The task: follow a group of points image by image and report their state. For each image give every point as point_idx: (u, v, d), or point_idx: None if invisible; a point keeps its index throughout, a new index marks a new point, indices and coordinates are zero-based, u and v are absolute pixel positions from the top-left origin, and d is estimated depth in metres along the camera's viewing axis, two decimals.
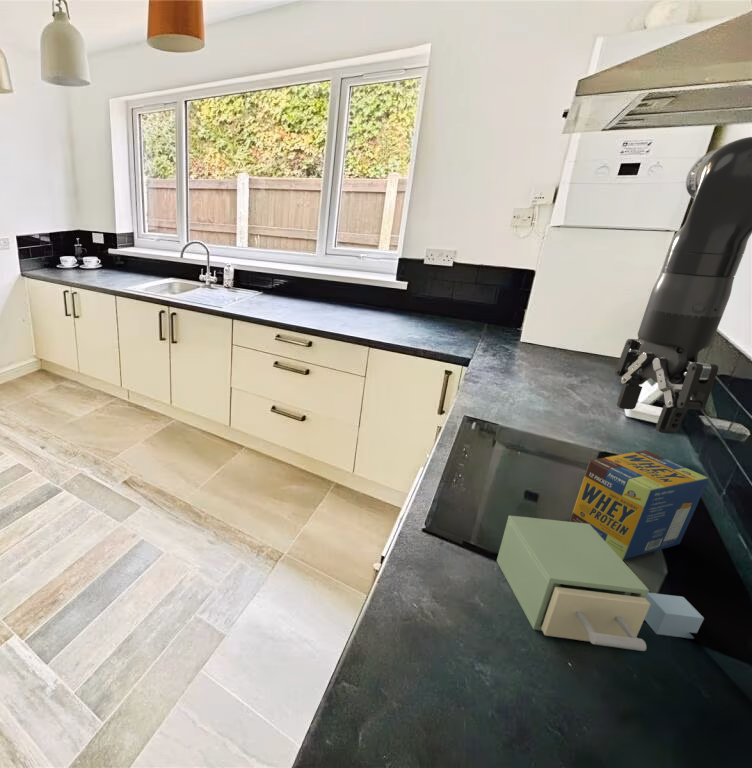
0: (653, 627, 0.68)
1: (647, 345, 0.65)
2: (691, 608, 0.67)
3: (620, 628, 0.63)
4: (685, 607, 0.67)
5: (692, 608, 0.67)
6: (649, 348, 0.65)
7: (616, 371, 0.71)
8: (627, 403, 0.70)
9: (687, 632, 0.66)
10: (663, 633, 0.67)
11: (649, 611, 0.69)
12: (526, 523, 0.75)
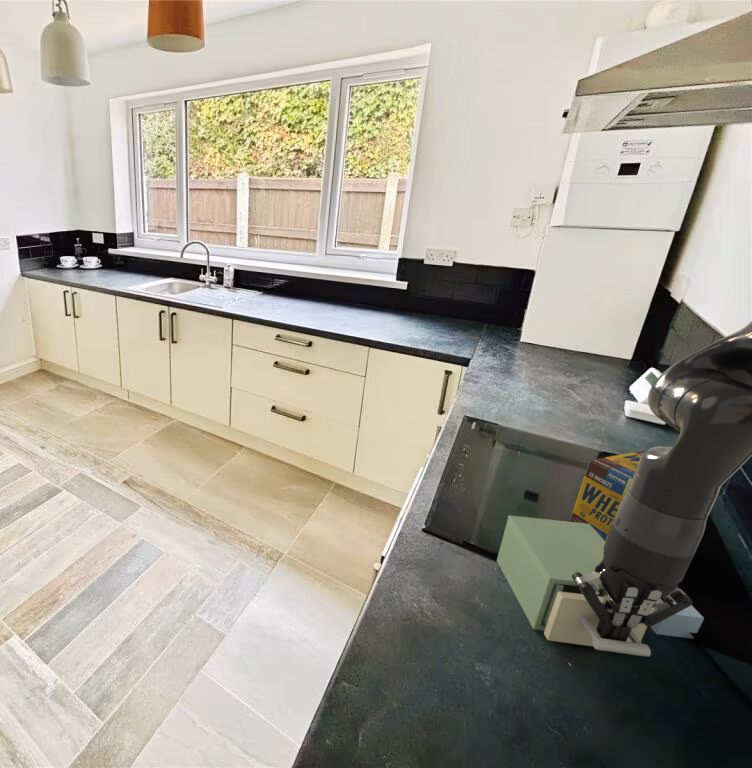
0: (653, 627, 0.68)
1: None
2: (691, 608, 0.67)
3: None
4: None
5: (692, 608, 0.67)
6: None
7: None
8: None
9: (687, 632, 0.66)
10: (663, 633, 0.67)
11: None
12: (526, 523, 0.75)
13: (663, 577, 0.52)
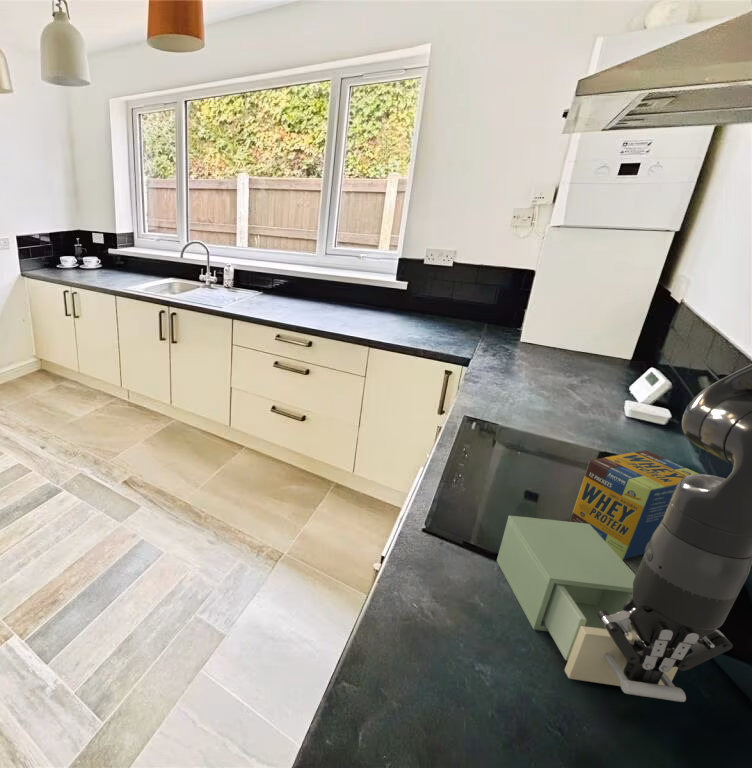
0: None
1: None
2: None
3: None
4: None
5: None
6: None
7: None
8: None
9: None
10: None
11: None
12: (526, 523, 0.75)
13: (703, 621, 0.47)
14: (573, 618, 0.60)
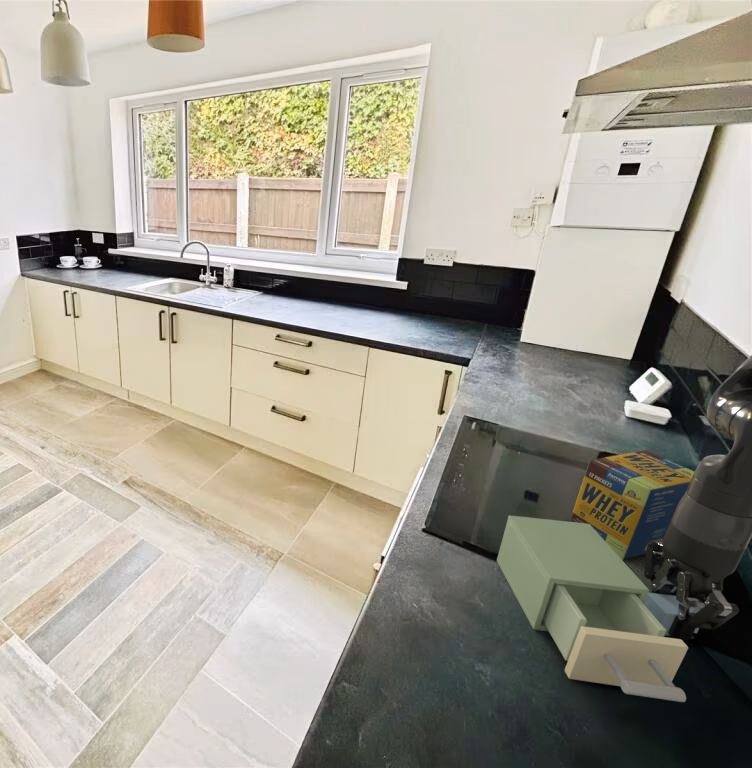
0: None
1: None
2: (691, 608, 0.67)
3: (653, 672, 0.57)
4: None
5: (692, 608, 0.67)
6: None
7: (645, 574, 0.71)
8: None
9: None
10: None
11: None
12: (526, 523, 0.75)
13: None
14: (573, 618, 0.60)
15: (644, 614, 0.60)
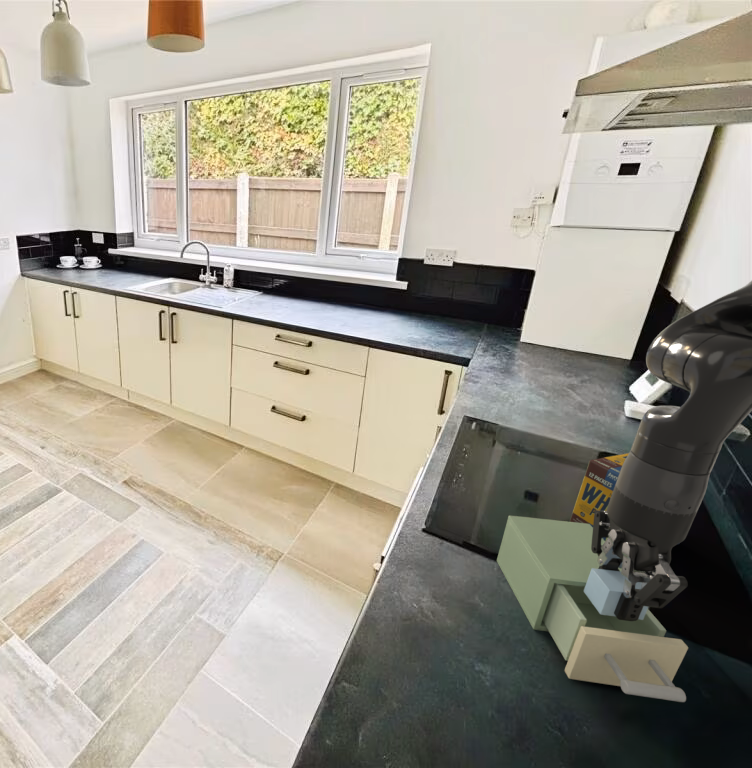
0: (597, 607, 0.59)
1: None
2: (640, 585, 0.58)
3: (653, 672, 0.57)
4: None
5: None
6: None
7: (592, 548, 0.63)
8: None
9: None
10: (608, 613, 0.59)
11: (594, 589, 0.60)
12: (526, 523, 0.75)
13: None
14: (573, 618, 0.60)
15: None
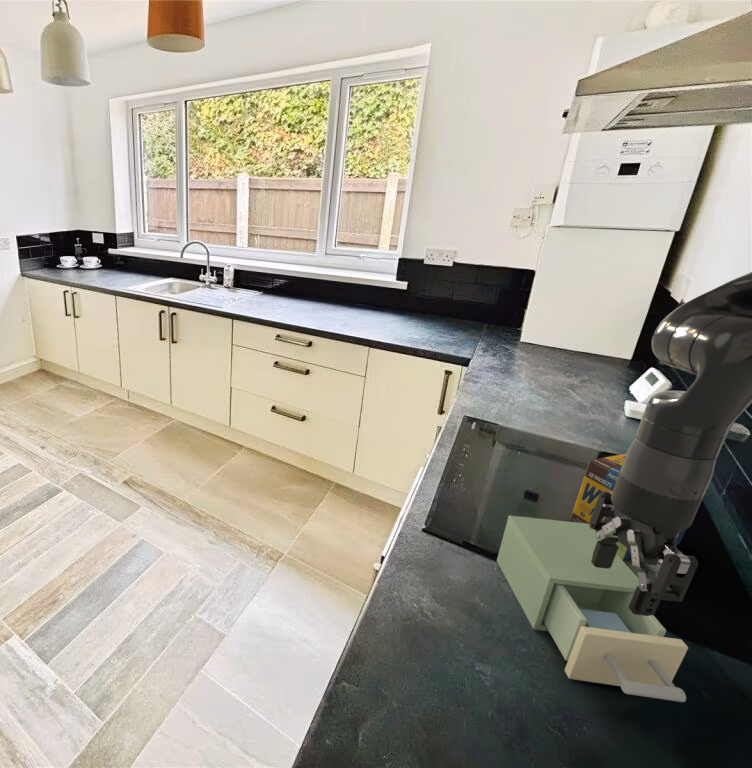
0: None
1: None
2: (623, 626, 0.61)
3: (653, 672, 0.57)
4: (615, 625, 0.61)
5: (623, 626, 0.61)
6: None
7: (590, 523, 0.64)
8: (602, 562, 0.63)
9: None
10: None
11: None
12: (526, 523, 0.75)
13: None
14: (573, 618, 0.60)
15: None
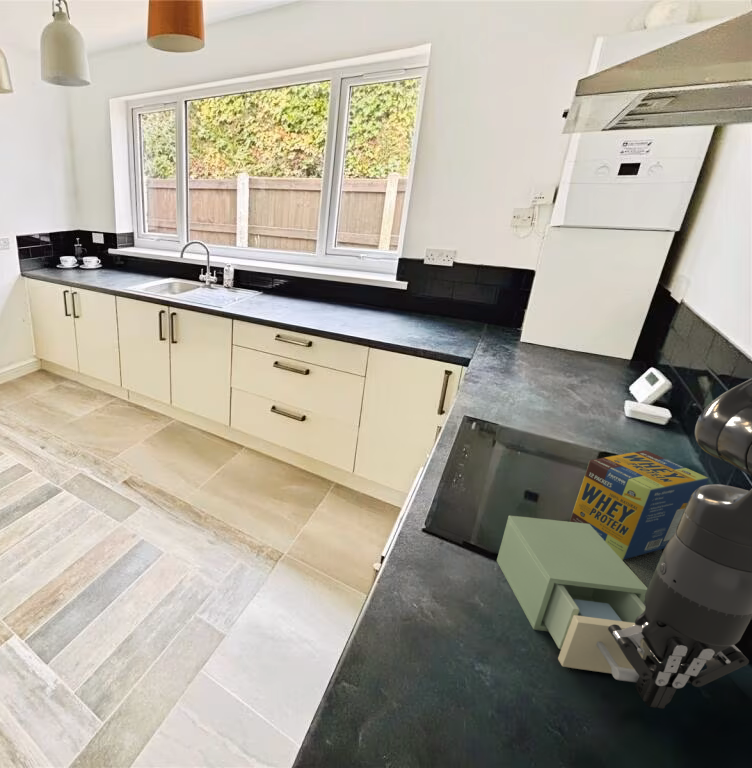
0: None
1: None
2: (615, 616, 0.62)
3: None
4: (608, 614, 0.63)
5: (615, 616, 0.62)
6: None
7: None
8: None
9: None
10: None
11: None
12: (526, 523, 0.75)
13: (720, 637, 0.45)
14: (566, 608, 0.62)
15: (635, 604, 0.62)
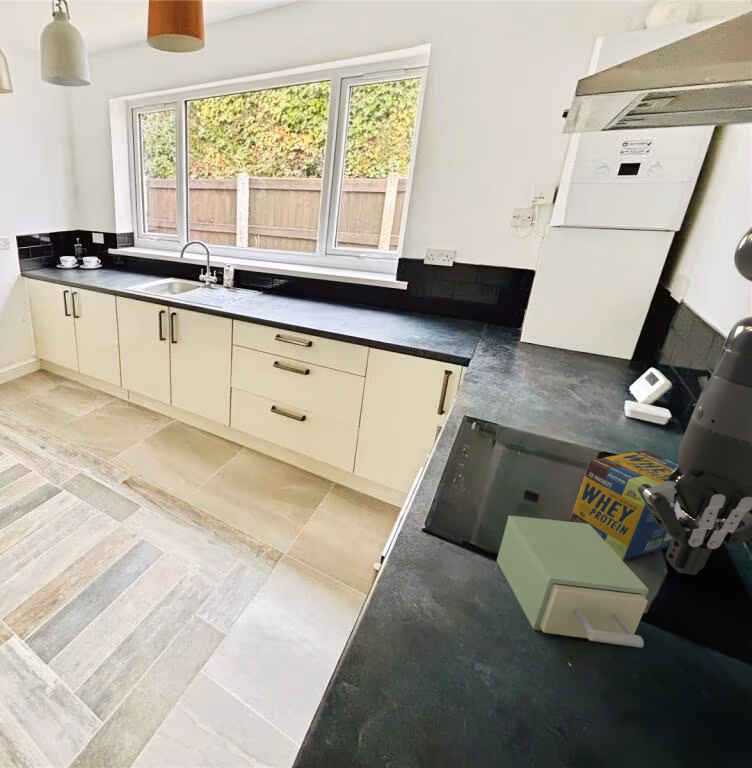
0: None
1: None
2: None
3: (618, 625, 0.63)
4: None
5: None
6: None
7: None
8: None
9: None
10: None
11: None
12: (526, 523, 0.75)
13: None
14: None
15: None
